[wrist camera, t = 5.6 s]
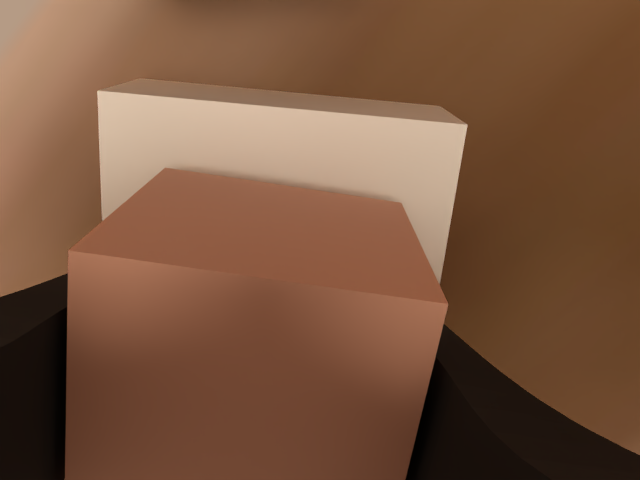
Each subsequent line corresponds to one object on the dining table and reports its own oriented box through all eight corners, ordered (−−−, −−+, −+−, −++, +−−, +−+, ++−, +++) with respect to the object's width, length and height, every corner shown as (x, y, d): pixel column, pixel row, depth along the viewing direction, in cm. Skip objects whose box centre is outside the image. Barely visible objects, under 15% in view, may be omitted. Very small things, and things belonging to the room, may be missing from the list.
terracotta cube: (360, 402, 14) (380, 585, 10) (151, 374, 14) (64, 547, 9) (401, 202, 13) (448, 304, 8) (165, 167, 12) (68, 250, 8)
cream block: (437, 104, 16) (467, 124, 13) (398, 358, 19) (414, 429, 16) (143, 77, 16) (97, 90, 13) (145, 338, 19) (108, 406, 15)
